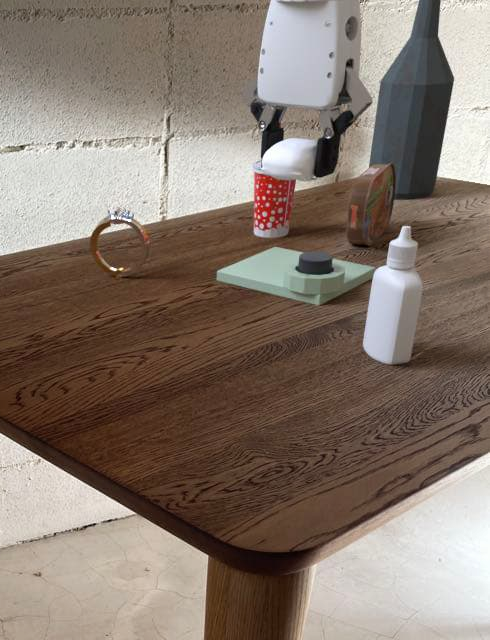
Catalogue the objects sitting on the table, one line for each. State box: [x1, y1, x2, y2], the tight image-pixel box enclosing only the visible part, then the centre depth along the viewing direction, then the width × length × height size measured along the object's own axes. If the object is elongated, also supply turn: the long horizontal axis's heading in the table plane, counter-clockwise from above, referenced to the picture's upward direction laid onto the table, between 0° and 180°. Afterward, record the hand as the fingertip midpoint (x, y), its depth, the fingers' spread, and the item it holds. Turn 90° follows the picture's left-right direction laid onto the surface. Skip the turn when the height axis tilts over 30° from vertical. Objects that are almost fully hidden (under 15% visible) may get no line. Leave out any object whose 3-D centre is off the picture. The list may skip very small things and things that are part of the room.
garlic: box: [261, 137, 336, 182], centre depth 97 cm, size 8×7×4 cm
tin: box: [345, 163, 396, 247], centre depth 113 cm, size 15×3×8 cm, turn 150°
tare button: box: [298, 251, 334, 275], centre depth 96 cm, size 4×4×2 cm
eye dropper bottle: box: [362, 225, 424, 366], centre depth 80 cm, size 4×6×12 cm
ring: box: [89, 206, 150, 279], centre depth 104 cm, size 7×3×8 cm, turn 66°
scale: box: [216, 246, 377, 306], centre depth 101 cm, size 15×13×3 cm
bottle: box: [368, 0, 455, 200], centre depth 125 cm, size 10×10×30 cm
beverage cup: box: [251, 122, 297, 239], centre depth 114 cm, size 6×6×14 cm
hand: (297, 169), depth 98 cm, fingers closed on garlic, 6 cm apart
